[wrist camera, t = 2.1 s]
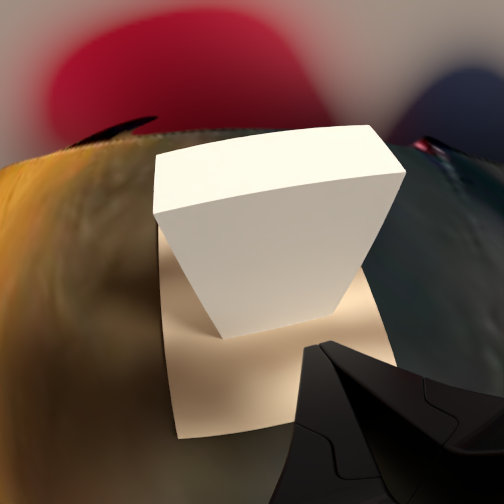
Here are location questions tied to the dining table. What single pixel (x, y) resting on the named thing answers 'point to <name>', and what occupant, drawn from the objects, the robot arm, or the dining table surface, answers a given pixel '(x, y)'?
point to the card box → (275, 220)
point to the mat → (249, 356)
